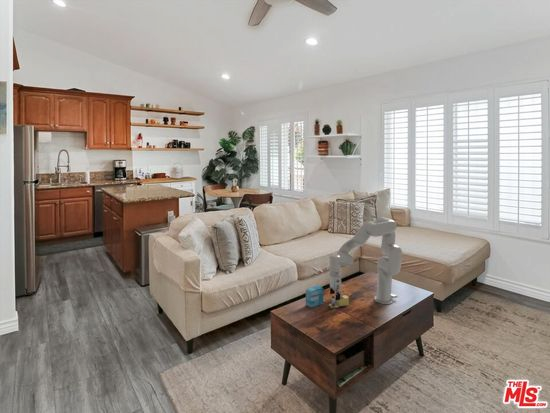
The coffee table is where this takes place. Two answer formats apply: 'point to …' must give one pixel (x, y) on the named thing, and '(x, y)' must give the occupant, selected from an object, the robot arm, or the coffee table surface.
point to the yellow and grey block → (343, 301)
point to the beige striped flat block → (333, 306)
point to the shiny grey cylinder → (333, 300)
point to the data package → (314, 296)
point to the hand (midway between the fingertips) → (335, 296)
